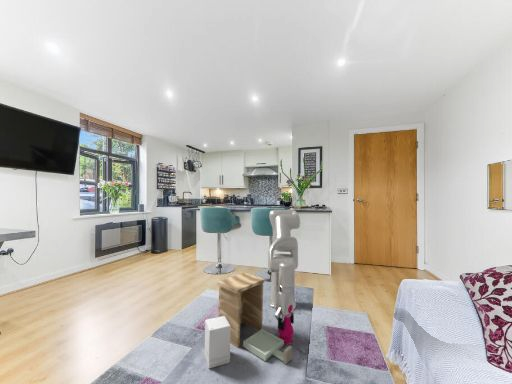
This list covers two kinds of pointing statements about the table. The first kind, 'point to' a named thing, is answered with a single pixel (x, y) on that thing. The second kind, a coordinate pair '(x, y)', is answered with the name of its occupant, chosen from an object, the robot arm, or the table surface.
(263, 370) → the table surface
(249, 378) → the table surface
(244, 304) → the open wooden crate
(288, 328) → the pepper mill
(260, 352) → the tray
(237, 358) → the table surface
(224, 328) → the supplement box
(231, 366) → the table surface
